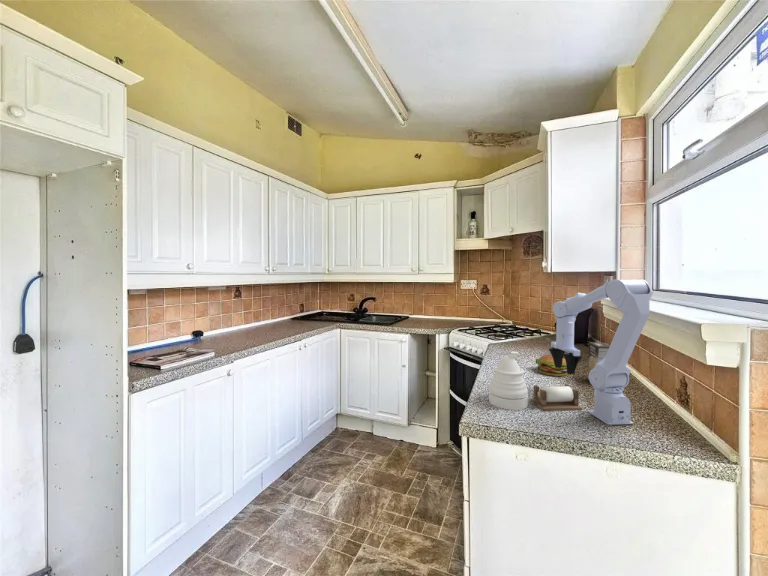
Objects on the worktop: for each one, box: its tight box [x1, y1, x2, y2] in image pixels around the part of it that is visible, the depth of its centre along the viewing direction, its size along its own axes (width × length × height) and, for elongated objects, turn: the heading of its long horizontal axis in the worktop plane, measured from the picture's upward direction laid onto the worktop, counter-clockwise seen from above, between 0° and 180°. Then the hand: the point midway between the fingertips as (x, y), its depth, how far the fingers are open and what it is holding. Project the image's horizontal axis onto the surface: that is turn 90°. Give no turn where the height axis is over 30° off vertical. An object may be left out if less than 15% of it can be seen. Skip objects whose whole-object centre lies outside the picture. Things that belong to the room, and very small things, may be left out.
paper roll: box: [537, 385, 574, 402], centre depth 112 cm, size 5×12×5 cm, turn 94°
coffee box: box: [587, 341, 611, 380], centre depth 134 cm, size 9×6×16 cm
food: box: [535, 354, 568, 377], centre depth 148 cm, size 14×14×8 cm
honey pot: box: [488, 351, 529, 411], centre depth 115 cm, size 13×13×18 cm
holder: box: [529, 384, 583, 412], centre depth 112 cm, size 9×13×6 cm
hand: (564, 370), depth 120 cm, fingers open, 7 cm apart
